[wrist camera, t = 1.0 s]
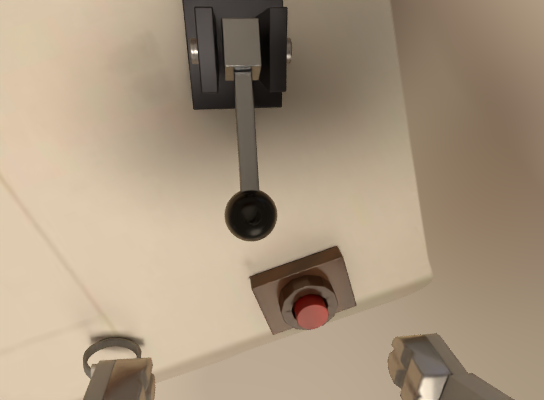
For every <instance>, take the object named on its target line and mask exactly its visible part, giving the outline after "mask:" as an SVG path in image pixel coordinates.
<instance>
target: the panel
mask: <svg viewBox="0 0 544 400" xmlns="http://www.w3.org/2000/svg"><path fill="white" fill-rule="evenodd" d="M250 279H251V288H252V291H253V293H254V295H255V297H256V299H257V301H258V304H259V306H260V308H261V310H262V312H263V314H264V316H265V319H266V321H267V323H268V325H269V327H270V329H271V332H272V334H273V335H274V334H277V333H280V332H283V331H286V330H289V329H291V328H295V329H302V330H311V329H305V328H302V327H301V326H300V325H299V324H298V323H297V319H296V316H295V312H294V305H295V303H296V301H297V300H298V299H299V298H301V297H302V296H305V295H308V294H316V295H319V296H320V297H322V299H323V300H324V302H325V305H326V307H327V310H328V314H329V315H328V319H327V321H326V322H325V323H324V324H326V323H327V322H328V321H329V320H330V319H331V318H332V317H333V316H334V315H335V313H337V312H340V311H343V310H346V309H349V308H352V307H354V306H356V302H355V298H354V294H353V291H352V287H351V284H350V280H349V277H348V273H347V269H346V266H345V262H344V259H343V256H342V254H341V252H340V251H339V249H338V247H337V246H336V247H333V248H330V249H328V250H325V251H322V252H319V253H316V254H313V255H311V256H308V257H305V258H302V259H299V260H296V261H294V262H291V263H288V264H285V265H282V266H279V267H277V268H274V269H271V270H268V271H265V272H262V273H260V274H257V275H254V276H251V277H250ZM324 324H323V325H324ZM323 325H322V326H323Z"/></svg>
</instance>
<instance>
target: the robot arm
mask: <svg viewBox="0 0 544 400" xmlns="http://www.w3.org/2000/svg"><path fill="white" fill-rule="evenodd" d="M392 346H393V348H394V350H393V351H392V352H391V353H390V354H389V357H388V369H389V373H390V376H391V378H392V380H393V382H394V384H396V385H397V386H398V387H400V388H401V395H400V396H401V398H402V400H514V399H512V398H511V397H509V396H507V395H506V394H504V393H503V392H501V391H500V390H498V389H496V388H494V387H493V386H492V385H490V384H488V383H487V382H485V381H484V380H482V379H481V378H479V377H477V376H476V375H474V374H473V373H468V372H466V370H465V369H464V367H463V366H462V365H461V363H460V362H459V360H458V359H457V358H456V357H455V355H454V354H453V353H452V351H451V350H450V348H449V347H448V346H447V344H446V343H445V342H444V340H443V339H442V338H441V337H440V336H439V335H438V334H437V333H436V334H425V335H421V334H420V335H411V336H400V337H395V338H394V339H393V342H392ZM152 366H153V364H152V359H151V358H134V359H117V360H103V361H99V363H98V364H97V365H96V367H95V370H94V373H93V375H92V378H91V380H90V383H89V385H88V388H87V391H86V393H85V396H84V398H83V400H154V396H155V377H154V374H152V373H151V371H152Z"/></svg>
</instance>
